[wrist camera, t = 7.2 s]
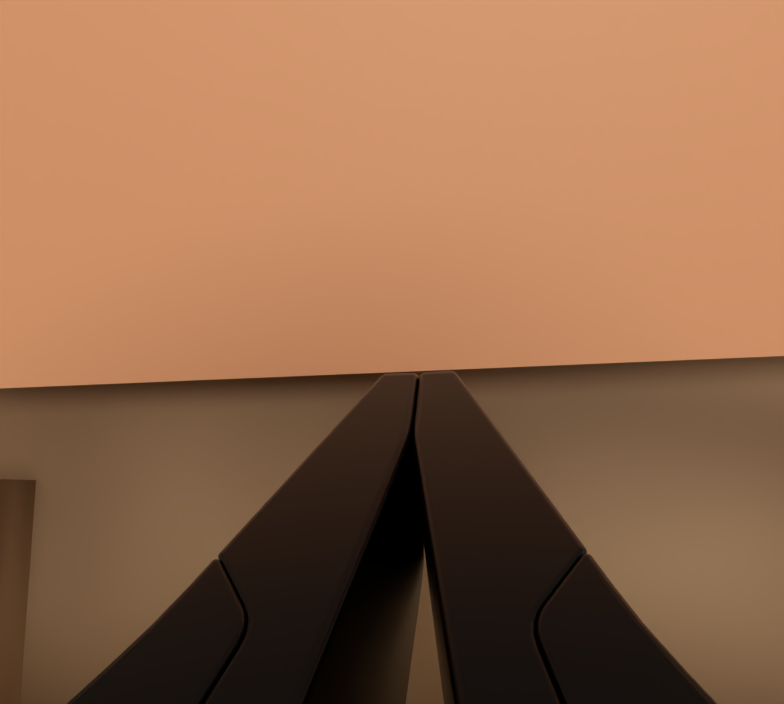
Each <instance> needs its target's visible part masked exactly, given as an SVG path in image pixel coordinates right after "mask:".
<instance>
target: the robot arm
mask: <svg viewBox="0 0 784 704" xmlns="http://www.w3.org/2000/svg"><path fill="white" fill-rule="evenodd" d="M424 554H425V558H426V567H427V577H428V585H429V593H430V600H431V608H432V616H433V623H434V631H435V639H436V646H437V654H438V662H439V669H440V677H441V685H442V692H443V700H444V704H717V703H716V702H715V701H714V699H713V698H712V697H711V696H710V695H709V694H708V693H707V692H706V691H705V690H704V689H703V688H702V687H701V686H700V685H699V684H698V683H697V682H696V680H695V679H694V678H693V677H692V676H691V675H690V674H689V673H688V672H687V671H686V670H685V669H684V668H683V666H682V665H681V664H680V663H679V662H678V661H677V660H676V659H675V658H674V656H673V655H672V654H671V653H670V652H669V651H668V650H667V649H666V648H665V646H664V645H663V644H662V643H661V642H660V641H659V640H658V639H657V638H656V636H655V635H654V634H653V633H652V632H651V631H650V630H649V629H648V628H647V627H646V625H645V624H644V623H643V622H642V620H641V619H640V618H639V617H638V615H637V614H636V613H635V612H634V610H633V609H632V608H631V607H630V605H629V604H628V603H627V602H626V600H625V599H624V598H623V597H622V595H621V594H620V593H619V591H618V590H617V589H616V588H615V586H614V585H613V584H612V583H611V581H610V580H609V579H608V577H607V576H606V574H605V573H604V572H603V570H602V569H601V568H600V566H599V565H598V564H597V562H596V561H595V560H594V558H593V557H592V556H591V555H590V554H587V550H586V548H585V547H584V545H583V544H582V543H581V541H580V540H579V538H578V537H577V536H576V534H575V533H574V532H573V530H572V529H571V528H570V526H569V525H568V524H567V522H566V521H565V519H564V518H563V517H562V515H561V514H560V513H559V511H558V510H557V509H556V507H555V506H554V505H553V503H552V502H551V501H550V499H549V498H548V496H547V495H546V494H545V492H544V491H543V490H542V488H541V487H540V486H539V484H538V483H537V482H536V480H535V479H534V477H533V476H532V475H531V473H530V472H529V471H528V469H527V468H526V467H525V465H524V464H523V463H522V461H521V460H520V459H519V457H518V456H517V454H516V453H515V452H514V450H513V449H512V448H511V446H510V445H509V444H508V442H507V441H506V440H505V438H504V437H503V436H502V434H501V433H500V431H499V430H498V429H497V427H496V426H495V425H494V423H493V422H492V421H491V419H490V418H489V417H488V415H487V414H486V412H485V411H484V410H483V408H482V407H481V406H480V404H479V403H478V402H477V400H476V399H475V398H474V396H473V395H472V394H471V392H470V391H469V389H468V388H467V387H466V385H465V384H464V383H463V381H462V380H461V379H460V377H459V376H458V375H457V374H456V373H455V372H453V371H441V372H425V373H423V374H421V375H420V377H418V375H417V374H415V373H395V374H384V375H383V376H381V377H380V378H379V379H378V380H377V381H376V383H375V384H374V385H373V386H372V387H371V388H370V389H369V390H368V391H367V392H366V393H365V395H364V396H363V397H362V398H361V399H360V400H359V401H358V402H357V403H356V404H355V405H354V407H353V408H352V409H351V410H350V411H349V412H348V413H347V414H346V415H345V416H344V418H343V419H342V420H341V421H340V422H339V423H338V424H337V425H336V426H335V427H334V428H333V430H332V431H331V432H330V433H329V434H328V435H327V436H326V437H325V438H324V439H323V440H322V442H321V443H320V444H319V445H318V446H317V447H316V448H315V449H314V450H313V451H312V452H311V454H310V455H309V456H308V457H307V458H306V459H305V460H304V461H303V462H302V463H301V465H300V466H299V467H298V468H297V469H296V470H295V471H294V472H293V473H292V474H291V475H290V477H289V478H288V479H287V480H286V481H285V482H284V483H283V484H282V485H281V486H280V487H279V489H278V490H277V491H276V492H275V493H274V494H273V495H272V496H271V497H270V498H269V500H268V501H267V502H266V503H265V504H264V505H263V506H262V507H261V508H260V509H259V510H258V512H257V513H256V514H255V515H254V516H253V517H252V518H251V519H250V520H249V521H248V522H247V524H246V525H245V526H244V527H243V528H242V529H241V530H240V531H239V532H238V533H237V534H236V536H235V537H234V538H233V539H232V540H231V541H230V542H229V543H228V544H227V545H226V547H225V548H224V549H223V550H222V551H221V552H220V553H219V555H218V559H219V560H218V559H214V560H212V561H211V562H210V564H209V565H208V566H207V567H206V568H205V569H204V570H203V571H202V572H201V573H200V574H199V576H198V577H197V578H196V579H195V580H194V581H193V582H192V583H191V584H190V585H189V586H188V587H187V588H186V590H185V591H184V592H183V593H182V594H181V595H180V596H179V597H178V598H177V599H176V600H175V601H174V602H173V603H172V604H171V605H170V606H169V607H168V608H167V609H166V610H165V611H164V612H163V613H162V614H161V615H160V616H159V618H158V619H157V620H156V621H155V622H154V623H153V624H152V625H151V626H150V627H149V628H148V629H147V630H145V631H144V632H143V633H142V634H141V635H140V636H139V637H138V638H137V639H136V640H135V641H134V642H133V643H132V644H131V645H130V646H128V647H127V648H126V649H125V650H124V651H123V652H122V653H121V654H120V655H119V656H118V657H117V658H116V659H115V660H114V661H113V662H112V663H110V664H109V665H108V666H107V667H106V668H105V669H104V670H103V671H102V672H101V673H100V674H99V675H97V676H96V677H95V678H94V679H93V680H92V681H91V682H90V683H89V684H88V685H86V686H85V687H84V688H83V689H82V690H81V691H80V692H79V693H78V694H76V695H75V696H74V697H73V698H72V699H71V700H70V701H69V702H68V703H66V704H406V697H407V690H408V683H409V675H410V668H411V660H412V653H413V645H414V638H415V631H416V623H417V616H418V608H419V601H420V593H421V586H422V578H423V568H424Z"/></svg>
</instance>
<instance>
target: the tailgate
mask: <svg viewBox="0 0 784 704" xmlns="http://www.w3.org/2000/svg"><path fill="white" fill-rule="evenodd" d="M770 356H784V0H0V388H23V387H47V386H71V385H95V384H120V383H144V382H168V381H192V380H216V379H240V378H264V377H288V376H312V375H337V374H361V373H385V372H409V371H433V370H457V369H481V368H505V367H529V366H553V365H578V364H602V363H626V362H650V361H674V360H698V359H722V358H746V357H770Z"/></svg>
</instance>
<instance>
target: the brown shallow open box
mask: <svg viewBox="0 0 784 704" xmlns="http://www.w3.org/2000/svg"><path fill="white" fill-rule="evenodd" d="M441 371H453V372H455V373H456V374H457V375H458V376H459V377H460V379H461V380H462V381H463V383H464V384H465V385H466V387H467V388H468V389H469V391H470V392H471V394H472V395H473V396H474V398H475V399H476V400H477V402H478V403H479V404H480V406H481V407H482V408H483V410H484V411H485V412H486V414H487V415H488V417H489V418H490V419H491V421H492V422H493V423H494V425H495V426H496V427H497V429H498V430H499V431H500V433H501V434H502V436H503V437H504V438H505V440H506V441H507V442H508V444H509V445H510V446H511V448H512V449H513V450H514V452H515V453H516V454H517V456H518V457H519V459H520V460H521V461H522V463H523V464H524V465H525V467H526V468H527V469H528V471H529V472H530V473H531V475H532V476H533V477H534V479H535V480H536V482H537V483H538V484H539V486H540V487H541V488H542V490H543V491H544V492H545V494H546V495H547V496H548V498H549V499H550V501H551V502H552V503H553V505H554V506H555V507H556V509H557V510H558V511H559V513H560V514H561V515H562V517H563V518H564V519H565V521H566V522H567V524H568V525H569V526H570V528H571V529H572V530H573V532H574V533H575V534H576V536H577V537H578V538H579V540H580V541H581V543H582V544H583V545H584V547H585V548H586V550H587V554H590V555H591V556H592V557H593V558H594V560H595V561H596V562H597V564H598V565H599V566H600V568H601V569H602V570H603V572H604V573H605V574H606V576H607V577H608V579H609V580H610V581H611V583H612V584H613V585H614V586H615V588H616V589H617V590H618V591H619V593H620V594H621V595H622V597H623V598H624V599H625V600H626V602H627V603H628V604H629V605H630V607H631V608H632V609H633V610H634V612H635V613H636V614H637V615H638V617H639V618H640V619H641V620H642V622H643V623H644V624H645V625H646V627H647V628H648V629H649V630H650V631H651V632H652V633H653V634H654V635H655V636H656V638H657V639H658V640H659V641H660V642H661V643H662V644H663V645H664V646H665V648H666V649H667V650H668V651H669V652H670V653H671V654H672V655H673V656H674V658H675V659H676V660H677V661H678V662H679V663H680V664H681V665H682V666H683V668H684V669H685V670H686V671H687V672H688V673H689V674H690V675H691V676H692V677H693V678H694V679H695V680H696V682H697V683H698V684H699V685H700V686H701V687H702V688H703V689H704V690H705V691H706V692H707V693H708V694H709V695H710V696H711V697H712V698H713V699H714V701H715V702H716V703H717V704H784V356H770V357H746V358H722V359H698V360H674V361H650V362H626V363H602V364H578V365H553V366H529V367H505V368H481V369H457V370H433V371H409V372H385V373H361V374H337V375H312V376H288V377H264V378H240V379H216V380H192V381H168V382H144V383H120V384H95V385H71V386H47V387H23V388H0V704H66V703H68V702H69V701H70V700H71V699H72V698H73V697H74V696H75V695H76V694H78V693H79V692H80V691H81V690H82V689H83V688H84V687H85V686H86V685H88V684H89V683H90V682H91V681H92V680H93V679H94V678H95V677H96V676H97V675H99V674H100V673H101V672H102V671H103V670H104V669H105V668H106V667H107V666H108V665H109V664H110V663H112V662H113V661H114V660H115V659H116V658H117V657H118V656H119V655H120V654H121V653H122V652H123V651H124V650H125V649H126V648H127V647H128V646H130V645H131V644H132V643H133V642H134V641H135V640H136V639H137V638H138V637H139V636H140V635H141V634H142V633H143V632H144V631H145V630H147V629H148V628H149V627H150V626H151V625H152V624H153V623H154V622H155V621H156V620H157V619H158V618H159V616H160V615H161V614H162V613H163V612H164V611H165V610H166V609H167V608H168V607H169V606H170V605H171V604H172V603H173V602H174V601H175V600H176V599H177V598H178V597H179V596H180V595H181V594H182V593H183V592H184V591H185V590H186V588H187V587H188V586H189V585H190V584H191V583H192V582H193V581H194V580H195V579H196V578H197V577H198V576H199V574H200V573H201V572H202V571H203V570H204V569H205V568H206V567H207V566H208V565H209V564H210V562H211V561H212V560H214V559H218V555H219V553H220V552H221V551H222V550H223V549H224V548H225V547H226V545H227V544H228V543H229V542H230V541H231V540H232V539H233V538H234V537H235V536H236V534H237V533H238V532H239V531H240V530H241V529H242V528H243V527H244V526H245V525H246V524H247V522H248V521H249V520H250V519H251V518H252V517H253V516H254V515H255V514H256V513H257V512H258V510H259V509H260V508H261V507H262V506H263V505H264V504H265V503H266V502H267V501H268V500H269V498H270V497H271V496H272V495H273V494H274V493H275V492H276V491H277V490H278V489H279V487H280V486H281V485H282V484H283V483H284V482H285V481H286V480H287V479H288V478H289V477H290V475H291V474H292V473H293V472H294V471H295V470H296V469H297V468H298V467H299V466H300V465H301V463H302V462H303V461H304V460H305V459H306V458H307V457H308V456H309V455H310V454H311V452H312V451H313V450H314V449H315V448H316V447H317V446H318V445H319V444H320V443H321V442H322V440H323V439H324V438H325V437H326V436H327V435H328V434H329V433H330V432H331V431H332V430H333V428H334V427H335V426H336V425H337V424H338V423H339V422H340V421H341V420H342V419H343V418H344V416H345V415H346V414H347V413H348V412H349V411H350V410H351V409H352V408H353V407H354V405H355V404H356V403H357V402H358V401H359V400H360V399H361V398H362V397H363V396H364V395H365V393H366V392H367V391H368V390H369V389H370V388H371V387H372V386H373V385H374V384H375V383H376V381H377V380H378V379H379V378H380V377H381V376H383V375H384V374H395V373H415V374H417V375H418V377H420V375H421V374H423V373H425V372H441ZM218 560H219V559H218ZM406 704H444V700H443V692H442V685H441V677H440V669H439V662H438V654H437V646H436V639H435V631H434V623H433V616H432V608H431V600H430V593H429V585H428V577H427V567H426V558H425V554H424V568H423V578H422V586H421V593H420V601H419V608H418V616H417V623H416V631H415V638H414V645H413V653H412V660H411V668H410V675H409V683H408V690H407V697H406Z"/></svg>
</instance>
